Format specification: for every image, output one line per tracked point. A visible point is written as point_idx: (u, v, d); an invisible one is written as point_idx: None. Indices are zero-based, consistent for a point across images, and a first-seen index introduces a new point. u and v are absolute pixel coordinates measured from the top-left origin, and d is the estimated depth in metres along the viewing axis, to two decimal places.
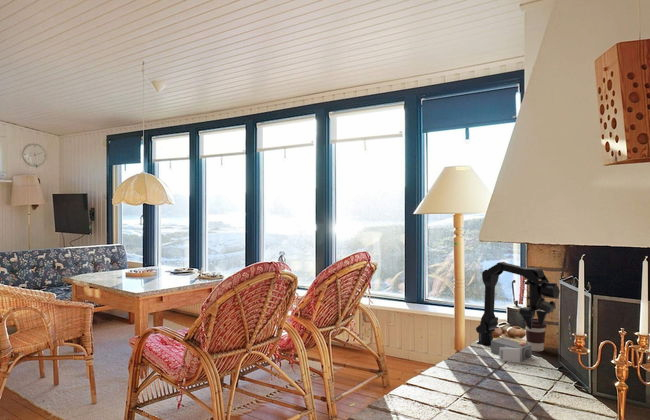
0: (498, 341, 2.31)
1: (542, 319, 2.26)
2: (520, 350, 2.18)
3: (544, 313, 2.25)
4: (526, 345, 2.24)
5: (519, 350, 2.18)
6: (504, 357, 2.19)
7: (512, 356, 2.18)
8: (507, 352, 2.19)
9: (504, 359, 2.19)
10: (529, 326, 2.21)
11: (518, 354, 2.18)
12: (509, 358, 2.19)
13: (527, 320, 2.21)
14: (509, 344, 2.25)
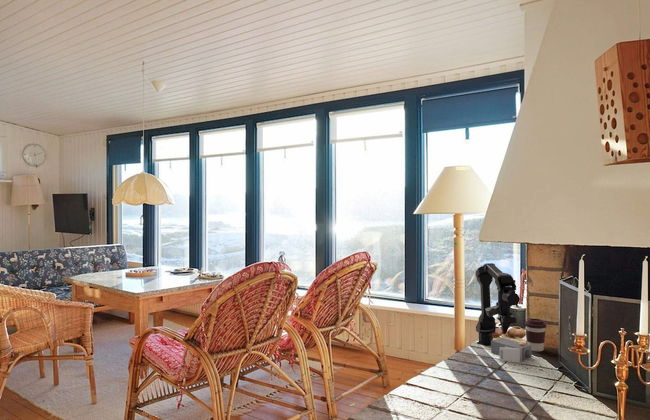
0: (498, 341, 2.31)
1: None
2: (520, 350, 2.18)
3: None
4: (526, 345, 2.24)
5: (519, 350, 2.18)
6: (504, 357, 2.19)
7: (512, 356, 2.18)
8: (507, 352, 2.19)
9: (504, 359, 2.19)
10: None
11: (518, 354, 2.18)
12: (509, 358, 2.19)
13: None
14: (509, 344, 2.25)
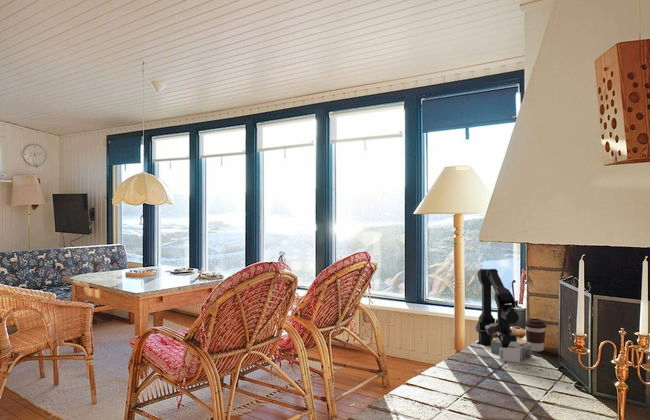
0: (498, 341, 2.31)
1: None
2: (520, 350, 2.18)
3: None
4: (526, 345, 2.24)
5: (519, 350, 2.18)
6: (504, 357, 2.19)
7: (512, 356, 2.18)
8: (507, 352, 2.19)
9: (504, 359, 2.19)
10: None
11: (518, 354, 2.18)
12: (509, 358, 2.19)
13: None
14: (509, 344, 2.25)
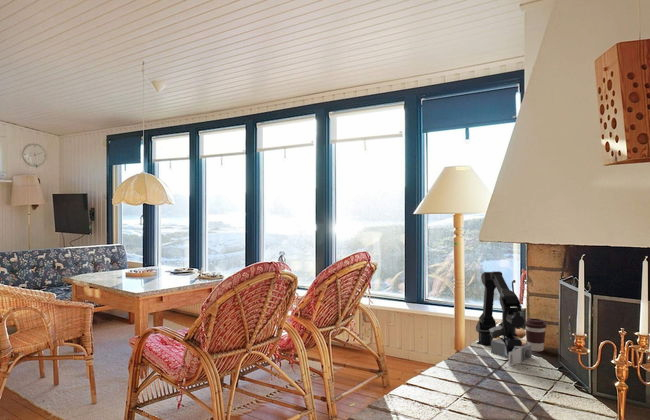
0: (498, 341, 2.31)
1: None
2: (521, 350, 2.17)
3: None
4: (526, 345, 2.24)
5: (520, 350, 2.17)
6: None
7: (517, 358, 2.16)
8: (514, 355, 2.14)
9: (512, 363, 2.13)
10: None
11: (520, 355, 2.17)
12: (515, 361, 2.15)
13: None
14: None
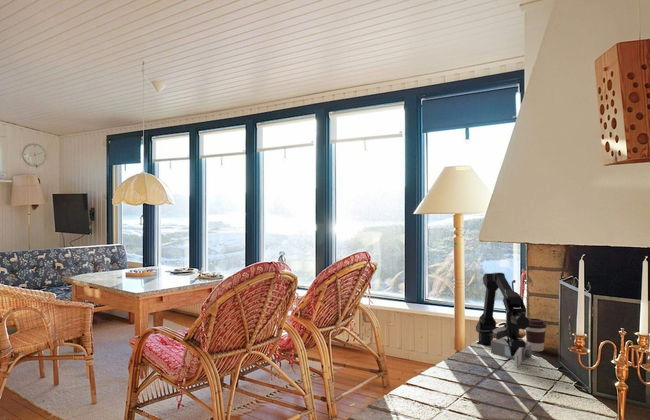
0: (498, 341, 2.31)
1: None
2: (521, 350, 2.18)
3: None
4: (526, 345, 2.24)
5: (521, 350, 2.17)
6: (517, 362, 2.12)
7: (519, 358, 2.15)
8: (518, 356, 2.13)
9: (517, 364, 2.12)
10: None
11: (521, 355, 2.17)
12: (519, 361, 2.14)
13: None
14: None
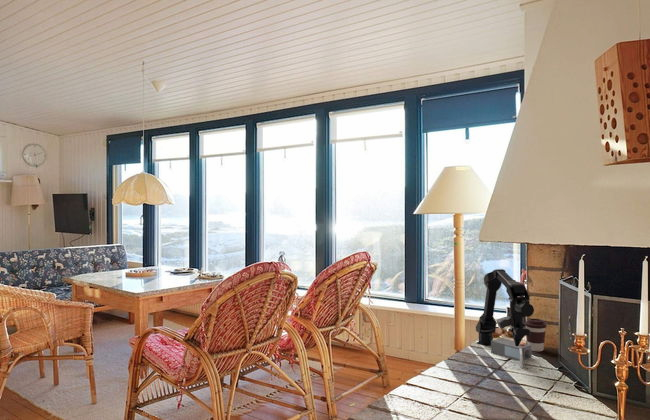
0: (498, 341, 2.31)
1: None
2: (521, 350, 2.18)
3: None
4: (526, 345, 2.24)
5: (521, 350, 2.17)
6: None
7: None
8: None
9: None
10: None
11: None
12: None
13: None
14: (509, 344, 2.25)
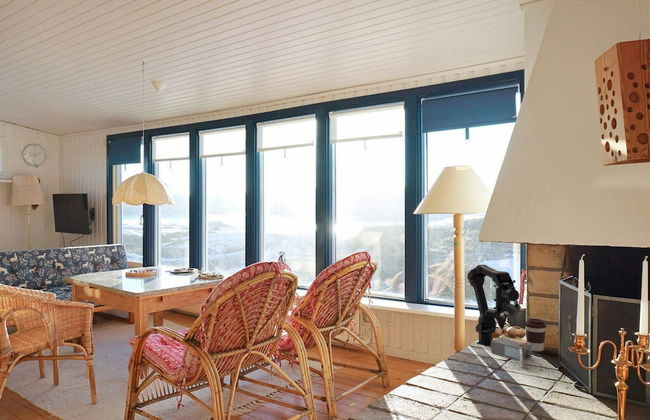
0: (498, 341, 2.31)
1: (503, 322, 2.31)
2: (521, 350, 2.18)
3: None
4: (526, 345, 2.24)
5: (521, 350, 2.17)
6: None
7: None
8: None
9: None
10: (500, 326, 2.32)
11: None
12: None
13: (498, 320, 2.32)
14: (509, 344, 2.25)
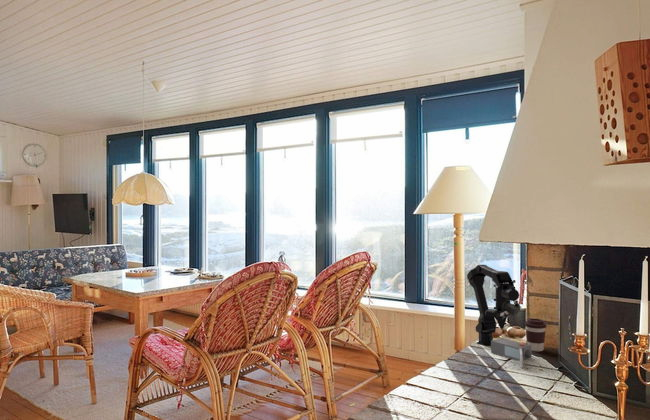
0: (498, 341, 2.31)
1: (503, 322, 2.32)
2: (521, 350, 2.18)
3: (505, 316, 2.31)
4: (526, 345, 2.24)
5: (521, 350, 2.17)
6: None
7: None
8: None
9: None
10: (500, 326, 2.32)
11: None
12: None
13: (498, 320, 2.32)
14: (509, 344, 2.25)
